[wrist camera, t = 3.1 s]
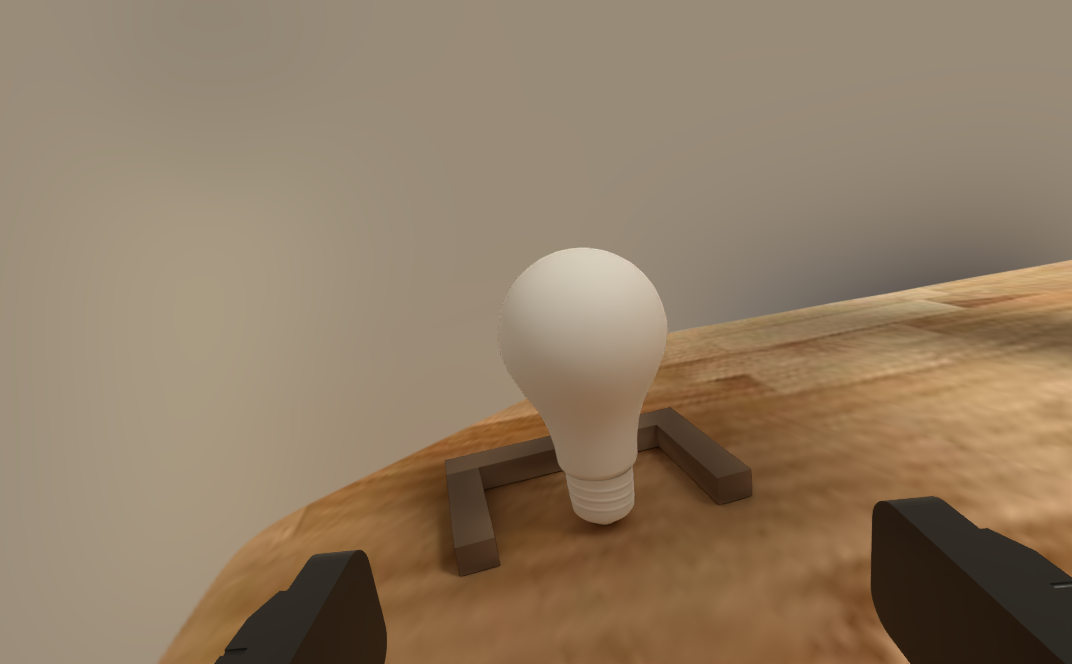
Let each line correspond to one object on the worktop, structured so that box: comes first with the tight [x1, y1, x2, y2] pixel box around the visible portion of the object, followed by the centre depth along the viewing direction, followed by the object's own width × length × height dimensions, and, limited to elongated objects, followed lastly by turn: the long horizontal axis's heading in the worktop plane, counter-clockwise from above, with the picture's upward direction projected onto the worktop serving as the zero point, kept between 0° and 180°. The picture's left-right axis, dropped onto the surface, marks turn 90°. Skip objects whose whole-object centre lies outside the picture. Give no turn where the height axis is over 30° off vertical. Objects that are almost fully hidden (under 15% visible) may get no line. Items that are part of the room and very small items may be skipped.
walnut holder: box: [445, 407, 752, 576], centre depth 23 cm, size 12×7×1 cm, turn 103°
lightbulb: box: [498, 248, 668, 525], centre depth 20 cm, size 6×6×11 cm
